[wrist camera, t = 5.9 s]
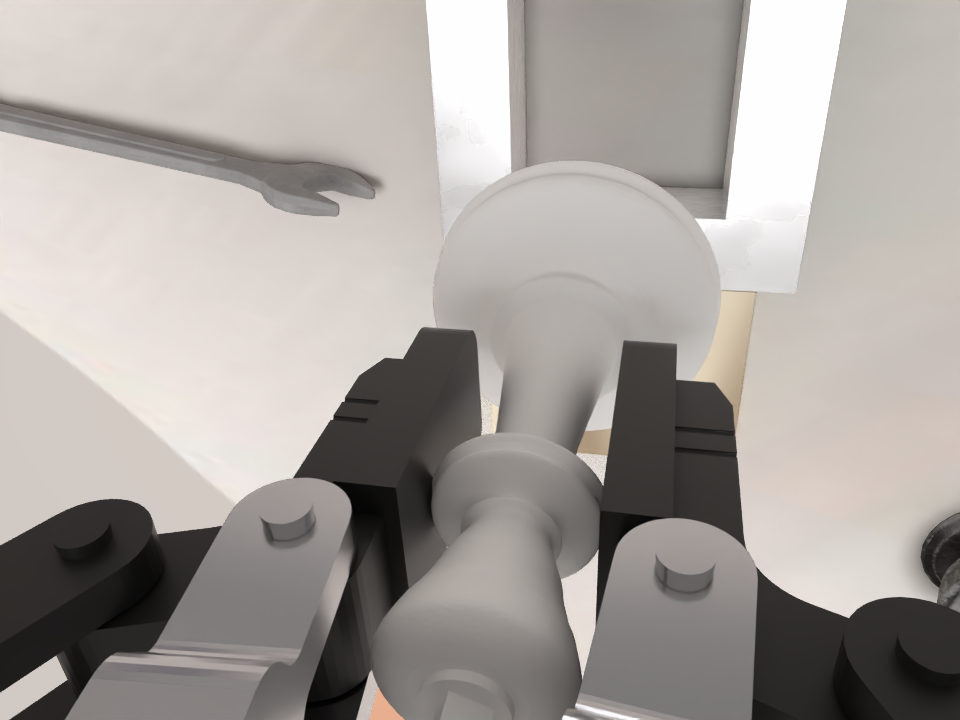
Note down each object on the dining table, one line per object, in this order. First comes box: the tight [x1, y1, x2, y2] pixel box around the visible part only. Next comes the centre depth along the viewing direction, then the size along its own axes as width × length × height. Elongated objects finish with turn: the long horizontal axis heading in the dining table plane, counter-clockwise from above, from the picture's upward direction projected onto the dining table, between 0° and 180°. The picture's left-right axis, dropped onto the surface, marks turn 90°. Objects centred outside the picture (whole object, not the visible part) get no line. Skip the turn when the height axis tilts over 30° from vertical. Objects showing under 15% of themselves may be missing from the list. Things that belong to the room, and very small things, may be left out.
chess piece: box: [370, 160, 721, 720], centre depth 10 cm, size 5×5×10 cm
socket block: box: [426, 0, 847, 294], centre depth 26 cm, size 12×12×3 cm
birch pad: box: [491, 290, 756, 455], centre depth 33 cm, size 10×8×1 cm
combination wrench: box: [0, 104, 375, 216], centre depth 31 cm, size 4×1×20 cm
